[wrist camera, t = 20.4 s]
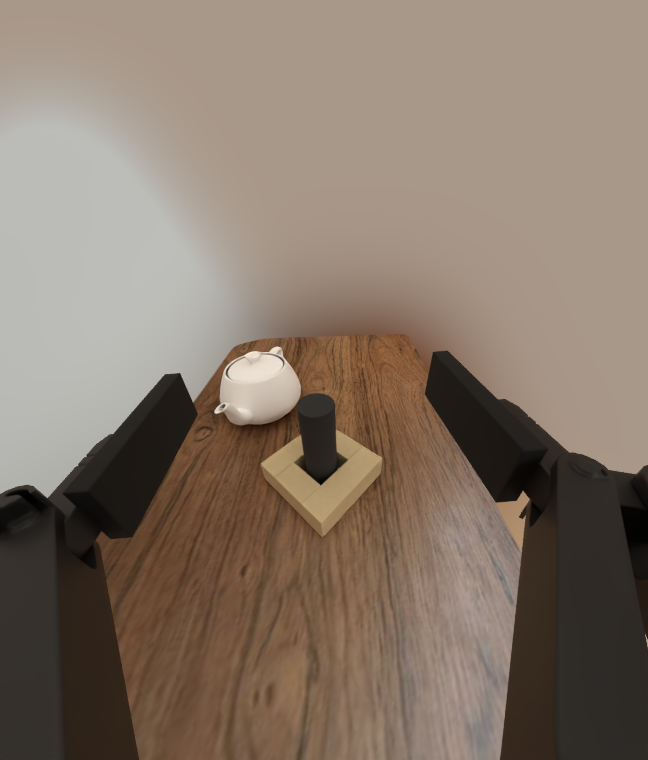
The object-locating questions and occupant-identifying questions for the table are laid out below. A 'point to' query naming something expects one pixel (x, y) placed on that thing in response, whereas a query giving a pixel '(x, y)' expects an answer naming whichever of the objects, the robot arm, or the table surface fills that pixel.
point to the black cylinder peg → (318, 435)
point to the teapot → (258, 388)
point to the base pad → (335, 493)
